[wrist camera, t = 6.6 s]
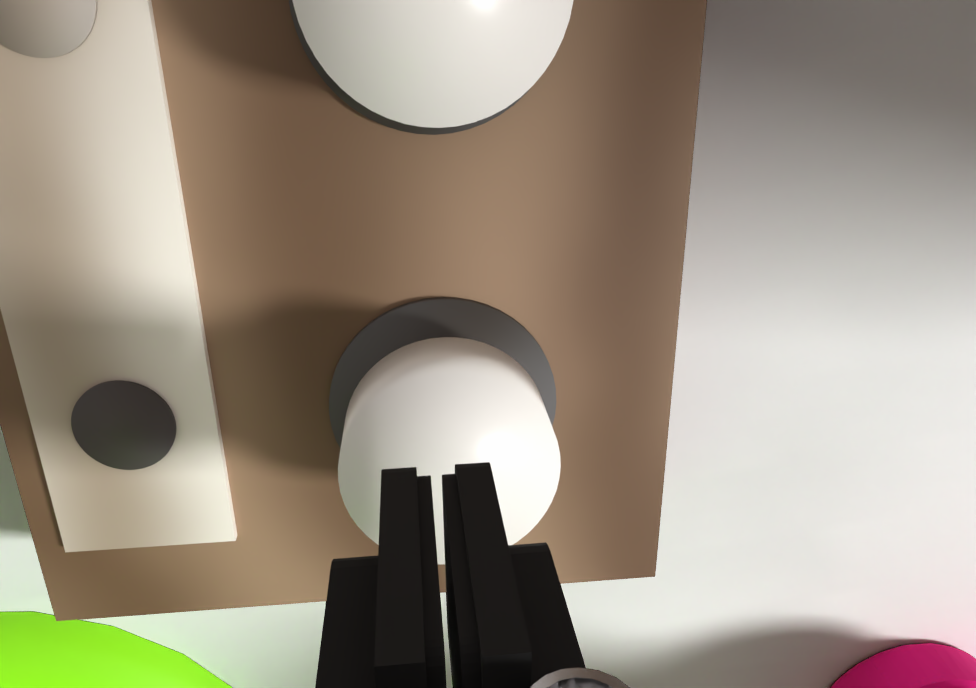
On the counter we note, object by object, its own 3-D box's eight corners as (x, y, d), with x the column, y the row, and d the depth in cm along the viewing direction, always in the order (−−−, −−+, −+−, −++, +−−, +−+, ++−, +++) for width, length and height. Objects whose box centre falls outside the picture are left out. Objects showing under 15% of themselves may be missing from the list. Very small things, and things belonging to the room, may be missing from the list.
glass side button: (547, 332, 15) (563, 365, 13) (544, 508, 16) (557, 556, 15) (336, 341, 14) (327, 377, 13) (352, 521, 16) (346, 571, 14)
